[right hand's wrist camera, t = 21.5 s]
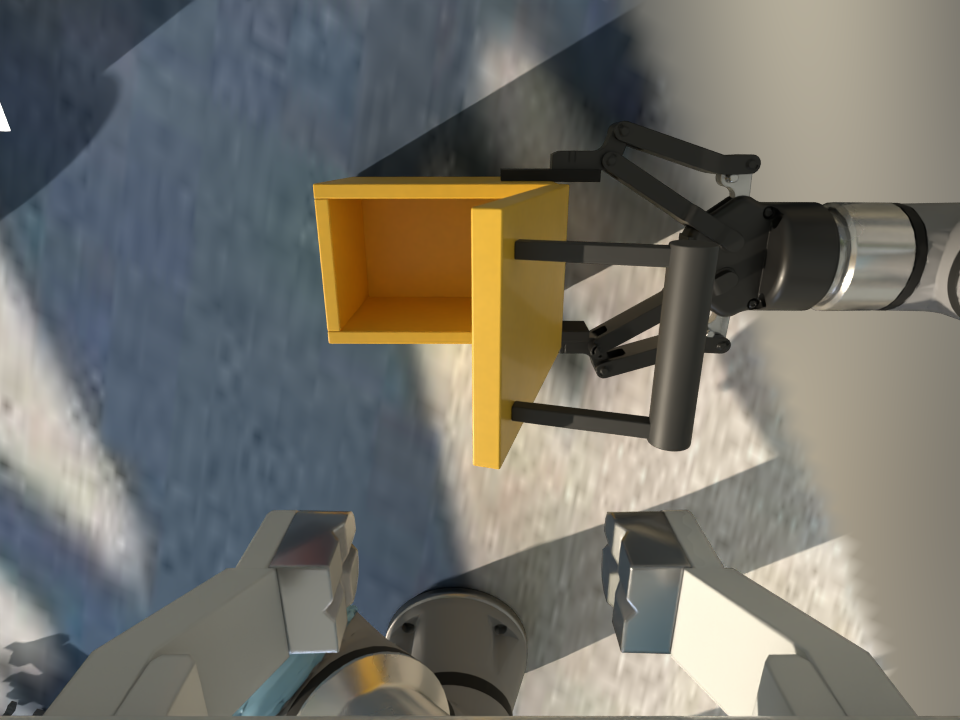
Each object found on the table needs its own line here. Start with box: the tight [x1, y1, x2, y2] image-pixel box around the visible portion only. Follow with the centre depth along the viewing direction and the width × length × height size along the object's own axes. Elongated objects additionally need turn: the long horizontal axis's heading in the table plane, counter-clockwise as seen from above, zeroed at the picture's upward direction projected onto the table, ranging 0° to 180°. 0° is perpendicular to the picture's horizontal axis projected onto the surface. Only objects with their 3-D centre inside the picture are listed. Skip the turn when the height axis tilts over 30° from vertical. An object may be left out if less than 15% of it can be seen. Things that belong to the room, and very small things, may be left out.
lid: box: [471, 184, 719, 469], centre depth 27 cm, size 16×10×8 cm
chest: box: [313, 177, 557, 344], centre depth 41 cm, size 15×10×11 cm
